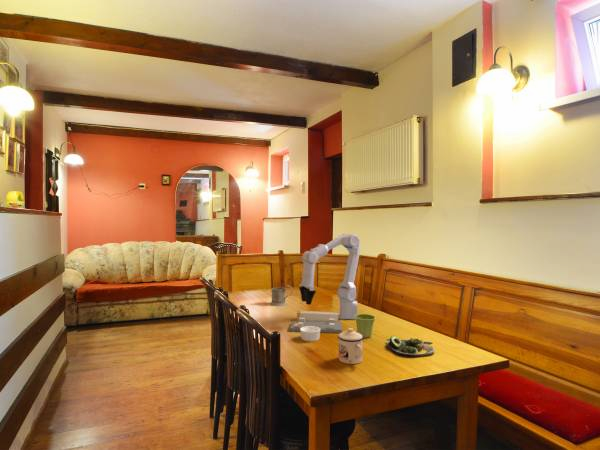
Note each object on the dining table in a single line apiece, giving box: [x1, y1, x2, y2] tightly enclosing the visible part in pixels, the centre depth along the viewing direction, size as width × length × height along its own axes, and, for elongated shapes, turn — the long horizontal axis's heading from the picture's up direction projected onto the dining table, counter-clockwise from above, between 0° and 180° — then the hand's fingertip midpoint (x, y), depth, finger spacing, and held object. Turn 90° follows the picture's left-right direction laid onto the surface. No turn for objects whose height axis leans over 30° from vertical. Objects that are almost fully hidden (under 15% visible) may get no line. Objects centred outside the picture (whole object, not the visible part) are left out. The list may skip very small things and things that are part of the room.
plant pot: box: [354, 313, 377, 339], centre depth 164 cm, size 9×9×9 cm
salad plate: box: [385, 335, 436, 358], centre depth 148 cm, size 19×18×5 cm
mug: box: [269, 284, 294, 307], centre depth 223 cm, size 14×10×12 cm
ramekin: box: [300, 326, 321, 342], centre depth 160 cm, size 9×9×4 cm
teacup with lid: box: [337, 327, 364, 365], centre depth 135 cm, size 12×9×12 cm
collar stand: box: [289, 318, 343, 334], centre depth 175 cm, size 24×12×4 cm, turn 85°
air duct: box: [296, 310, 339, 322], centre depth 189 cm, size 21×4×4 cm, turn 85°
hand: (306, 302), depth 183 cm, fingers open, 7 cm apart
